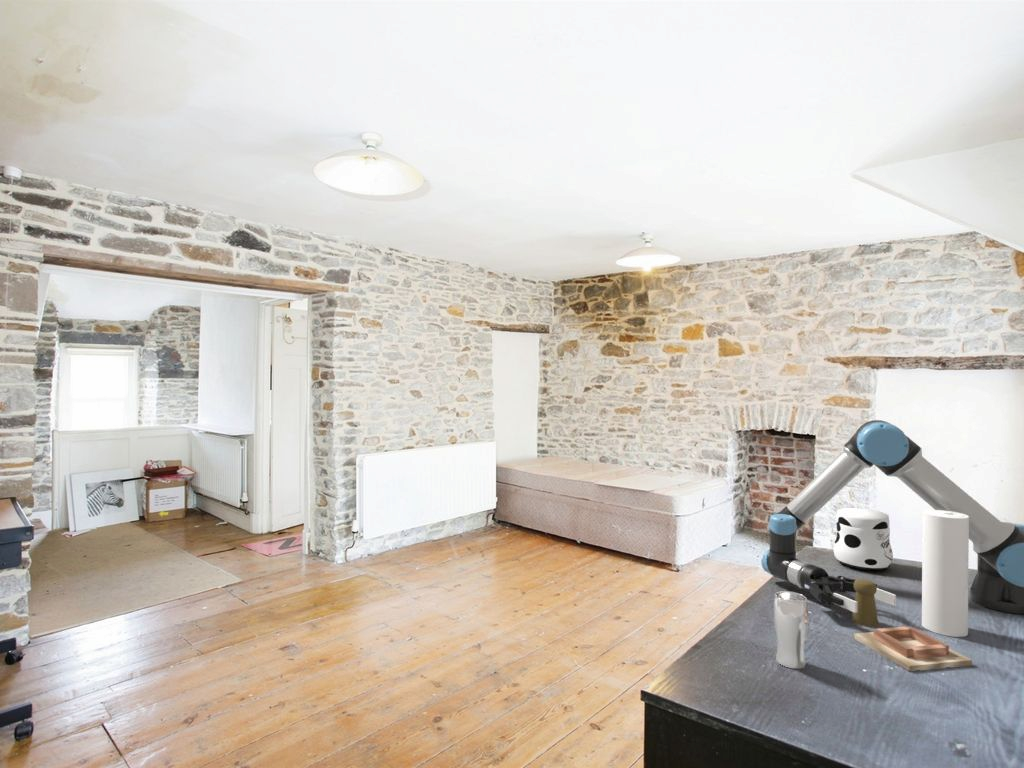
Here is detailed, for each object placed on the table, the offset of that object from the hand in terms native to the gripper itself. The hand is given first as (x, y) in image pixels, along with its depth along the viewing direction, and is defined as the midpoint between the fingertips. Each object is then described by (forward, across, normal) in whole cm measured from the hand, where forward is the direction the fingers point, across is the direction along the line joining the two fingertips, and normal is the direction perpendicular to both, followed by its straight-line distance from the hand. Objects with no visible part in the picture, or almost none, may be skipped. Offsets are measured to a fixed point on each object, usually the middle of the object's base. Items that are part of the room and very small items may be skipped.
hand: (876, 603), depth 146 cm
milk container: (-37, -40, -6) cm, 55 cm away
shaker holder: (+12, +5, -6) cm, 14 cm away
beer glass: (+7, +35, -6) cm, 36 cm away
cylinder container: (+7, -16, -6) cm, 18 cm away
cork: (-3, 0, -6) cm, 7 cm away
